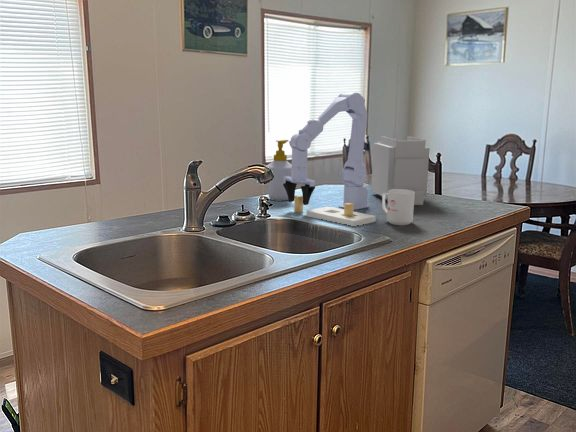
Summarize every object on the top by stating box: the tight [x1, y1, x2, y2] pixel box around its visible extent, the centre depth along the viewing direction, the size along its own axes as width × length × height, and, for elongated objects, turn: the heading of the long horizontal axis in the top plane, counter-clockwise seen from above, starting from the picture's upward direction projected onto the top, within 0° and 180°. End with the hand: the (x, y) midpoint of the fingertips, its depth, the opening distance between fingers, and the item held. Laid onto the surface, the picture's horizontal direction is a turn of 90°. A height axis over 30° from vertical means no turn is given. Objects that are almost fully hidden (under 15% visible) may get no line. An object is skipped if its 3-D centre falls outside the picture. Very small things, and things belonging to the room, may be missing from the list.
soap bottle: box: [265, 139, 292, 202], centre depth 229 cm, size 13×13×25 cm
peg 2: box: [343, 203, 354, 217], centre depth 193 cm, size 3×3×6 cm
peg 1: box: [293, 195, 304, 214], centre depth 206 cm, size 3×3×6 cm
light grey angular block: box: [370, 135, 431, 206], centre depth 234 cm, size 17×27×26 cm, turn 9°
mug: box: [381, 189, 415, 226], centre depth 192 cm, size 12×9×11 cm
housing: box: [305, 206, 377, 227], centre depth 196 cm, size 12×22×2 cm, turn 44°
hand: (298, 203), depth 206 cm, fingers open, 7 cm apart
